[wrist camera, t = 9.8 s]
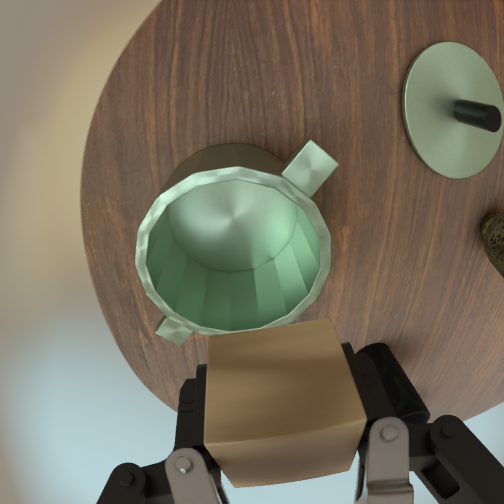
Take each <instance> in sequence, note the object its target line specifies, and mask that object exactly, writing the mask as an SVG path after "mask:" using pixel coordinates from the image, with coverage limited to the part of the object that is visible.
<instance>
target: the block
mask: <svg viewBox="0 0 504 504" xmlns="http://www.w3.org/2000/svg"><path fill="white" fill-rule="evenodd" d="M366 422H367V416H366V413H365V411H364V408H363V405H362V402H361V399H360V396H359V393H358V390H357V388H356V385H355V382H354V379H353V376H352V374H351V371H350V368H349V365H348V363H347V360H346V357H345V354H344V352H343V349H342V346H341V344H340V341H339V338H338V336H337V333H336V330H335V328H334V325H333V323H332V320H331V318H323V319H318V320H312V321H307V322H301V323H295V324H289V325H283V326H277V327H270V328H263V329H257V330H250V331H242V332H235V333H227V334H219V335H211V336H209V343H208V359H207V377H206V397H205V421H204V445H205V447H206V448H207V450H208V451H209V453H210V454H211V456H212V457H213V459H214V460H215V461H216V463H217V464H218V466H219V467H220V469H221V470H222V471H223V473H224V474H225V475H226V477H227V478H228V479H229V481H230V482H231V484H232V485H233V486H234V487H235V488H240V487H253V486H263V485H273V484H281V483H288V482H295V481H301V480H307V479H312V478H317V477H322V476H327V475H332V474H336V473H341V472H345V471H348V470H350V467H351V465H352V462H353V459H354V457H355V454H356V451H357V449H358V446H359V443H360V440H361V437H362V434H363V431H364V428H365V425H366Z"/></svg>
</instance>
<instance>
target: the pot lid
mask: <svg viewBox="0 0 504 504" xmlns="http://www.w3.org/2000/svg"><path fill="white" fill-rule="evenodd" d="M402 112H403V119H404V124H405V128H406V132H407V135H408V137H409V140H410V142H411V144H412V146H413V148H414V150H415V152H416V153H417V154H418V156H419V157H420V159H421V160H422V161H423V162H424V163H425V164H426V165H427V166H428V167H429V168H431V169H432V170H433V171H435V172H437V173H438V174H440V175H443V176H445V177H448V178H453V179H462V178H467V177H470V176H473V175H475V174H477V173H478V172H480V171H481V170H483V169H484V168H485V167H486V166H487V165H488V164H489V162H490V161H491V160H492V158H493V157H494V155H495V154H496V152H497V149H498V147H499V145H500V142H501V139H502V135H503V129H504V102H503V97H502V93H501V89H500V86H499V84H498V81H497V79H496V77H495V75H494V73H493V71H492V70H491V68H490V67H489V65H488V64H487V63H486V62H485V60H484V59H483V58H482V57H481V56H480V55H479V54H478V53H476V52H475V51H474V50H472V49H471V48H469V47H467V46H465V45H463V44H460V43H456V42H439V43H434V44H432V45H430V46H428V47H426V48H425V49H423V50H422V51H421V52H420V53H419V54H418V55H417V56H416V57H415V59H414V60H413V61H412V63H411V65H410V67H409V69H408V71H407V74H406V77H405V80H404V85H403V92H402Z"/></svg>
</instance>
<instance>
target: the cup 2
mask: <svg viewBox="0 0 504 504" xmlns="http://www.w3.org/2000/svg"><path fill="white" fill-rule="evenodd" d="M480 236H481V238H482V240H483V241H484V248H485V252H486V254H487V256H488V258H489V260H490V261H491V263H492V264H493V266H494V267H495V268H496V269H497V271H498V272H499V273H500V274H501V276H502V277H503V278H504V213H502V214H499V215H496V214H489V215H488V216H486V217H485V218H484V220H483V221H482V223H481V226H480Z"/></svg>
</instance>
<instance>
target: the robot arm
mask: <svg viewBox="0 0 504 504" xmlns="http://www.w3.org/2000/svg"><path fill="white" fill-rule="evenodd" d="M341 346H342V349H343V352H344V354H345V357H346V360H347V363H348V365H349V368H350V371H351V374H352V376H353V379H354V382H355V385H356V388H357V390H358V393H359V396H360V399H361V402H362V405H363V408H364V411H365V413H366V416H367V422H366V425H365V428H364V431H363V434H362V437H361V440H360V443H359V446H358V449H357V450H358V453H359V457H360V458H359V461H358V472H357V482H356V490H355V499H354V504H413V503H414V490H413V486H412V484H410V482H409V471H414V472H415V474H416V475H417V476H418V478H419V479H420V480H421V481H422V483H423V484H424V485H425V486H426V488H427V489H428V490H429V491H430V493H431V494H432V495H433V496H434V498H435V499H436V500H437V502H438V503H439V504H504V467H503V466H502V465H501V464H500V463H499V461H498V460H497V459H496V458H495V457H494V456H493V455H492V454H491V453H490V451H489V450H488V449H487V448H486V447H485V446H484V445H483V444H482V443H481V441H480V440H479V439H478V438H477V437H476V436H475V435H474V434H473V433H472V432H471V431H470V430H469V428H468V427H467V426H466V425H465V424H464V423H463V422H462V421H461V420H460V419H459V418H457V417H456V416H453V415H443V416H441V417H439V418H437V419H436V420H435V421H434V422H433V423H426V424H411V423H407V422H404V421H403V420H401V419H400V418H399V417H398V416H397V415H396V414H395V412H394V409H393V407H392V405H391V402H390V400H389V397H388V395H387V392H386V390H385V388H384V385H383V383H382V382H381V378H380V376H379V373H378V372H377V369H376V367H375V364H374V362H373V360H372V359H371V358H370V357H368V356H367V355H366V354H365V353H364V352H363V353H358V354H354V351H353V349H352V346H351V344H350V343H349V342H347V343H342V344H341ZM206 377H207V364H202V365H198V366H197V372H196V378H194V379H186V381H185V383H184V384H183V386H182V388H181V389H180V397H179V406H178V415H177V425H176V436H175V445H174V449H173V451H172V453H171V454H170V455H169V456H168V457H167V458H166V459H165V460H163V461H161V462H159V463H156V464H152V465H148V466H144V467H139V466H138V465H136V464H134V463H122V464H120V465H118V466H117V467H116V468H115V469H114V470H113V471H112V473H111V475H110V477H109V479H108V481H107V483H106V485H105V487H104V489H103V491H102V493H101V495H100V497H99V500H98V501H97V503H96V504H230V502H229V499H228V497H227V494H226V492H225V489H224V487H223V485H222V482H221V469H220V467H219V466H218V464H217V463H216V461H215V460H214V459H213V457H212V456H211V454H210V453H209V451H208V450H207V448H206V447H205V445H204V421H205V397H206Z"/></svg>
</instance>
